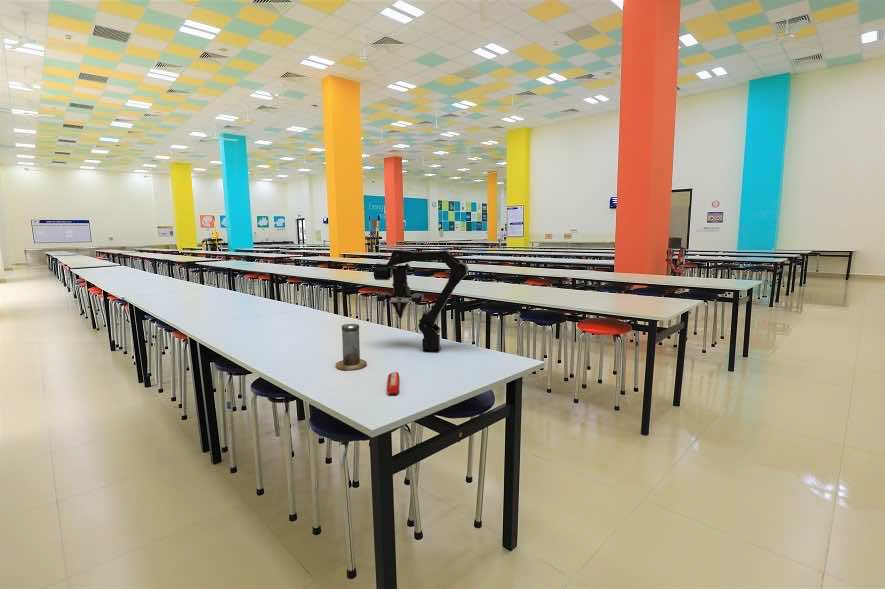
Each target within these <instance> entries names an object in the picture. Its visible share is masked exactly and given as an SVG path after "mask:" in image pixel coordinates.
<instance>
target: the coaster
mask: <svg viewBox="0 0 885 589" xmlns="http://www.w3.org/2000/svg"><path fill="white" fill-rule="evenodd" d="M367 366H368V362H367V360H365V359H363V358H360V364H358V365H353V366H347V365H344V364H343V359H342V360H340V361H337V362H336V363H335V369H337V370H339V371H344V372H346V371H347V372H348V371H349V372H350V371H359V370H363V369H364V368H366V367H367Z"/></svg>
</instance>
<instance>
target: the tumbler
mask: <svg viewBox="0 0 885 589" xmlns="http://www.w3.org/2000/svg"><path fill="white" fill-rule="evenodd" d="M341 338H342V340H341V341H342V343H341V344H342V358H343V359H342V360H343V364H344V365H347V366H353V365H358V364H360V359H361V351H360V347H361V346H360V345H361V344H360V325H359V324H358V323H346V324H342V325H341Z"/></svg>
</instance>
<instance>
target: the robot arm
mask: <svg viewBox="0 0 885 589" xmlns="http://www.w3.org/2000/svg"><path fill="white" fill-rule="evenodd" d="M418 261H419V262H421V261H423V262H424V261H426V262H427V261H428V262H429V261H442V262H444V264H445V265H446V266H447V267H448V268H449V269H450V270H451V271H450V274H449V277H448V280H447V282H446V284H445V285H444V287H443V289H442V291H441V292H440V293H439V296H438V297H437V299H436V301H435V302H434V303H433V305H432V307H431V309H430V310H429V311H428V310H425V311H424V312H423V314H422V316H421V318H420V319H419V320H418V329H419V331H420V332H421V333H422V336H423V338H422V342H421V343H422V344H421V345H422V348H421V349H422V352H423V353H424V352H428V353H439V352H440V350H441V348H442V347H441V334H440V332H441V327H440V326H439V325H438V324H437V321H438V319H439V315H440V313H441V312H442V310H443V308H444V306H445V305H446V304H447V302H448V300H449V298H450V297H451V295H452V293H453V291H454V290H455V288H456V287H457V286H458V285H459V283H460V282H461V281H462V280H463V279H464V278H465V277H466V276H467V274H468V272H469V266H468V265H467V263H465V262H461V261H460V260H459V259H458V258H457V257H455V256H454V255H453V254H452V253H451V252H450V251H449V250H447V249H443V250H429V251H428V250H426V251H425V250H424V251H423V250H422V251H421V250H420V251H414V250H410V249H403V248H402V249H395V250H393V251H392V253H391V255H390V259H389V260H388V262H387V263H380V262H379V263H377V262H376V263H375V267H374V270H373V277H374V278H373V279H374V280H375V281H390V280H391V279H392V294H390V292H380V293H377V295H376V302H385V301H386V300H390V304H392V305H393V307H394V309H395V311H396V313H397V316H398V317H399V319H403V317H404V316H403V315H404V313H405V310H406V307H407V305H408V304H410V303H411V301H412V302H413V303H422V302H423V301H424V300H425V295H424V294H423V293H417V292H415V293H413V294H411V287H410V286H409V284H408V270H412V269H413V267H412V266H411V265H409V263H410V262H411V263H412V262H418ZM403 264H404V265H403ZM394 266H395V267H394ZM396 266H397V267H396Z"/></svg>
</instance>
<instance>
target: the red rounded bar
mask: <svg viewBox="0 0 885 589" xmlns="http://www.w3.org/2000/svg"><path fill="white" fill-rule="evenodd" d="M386 381H387V382H386V391H387V395H391V396H392V395H395V394H397V393H399V391H400V374H399V372H398V371H394V372H391V373H388V376H387V380H386Z"/></svg>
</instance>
